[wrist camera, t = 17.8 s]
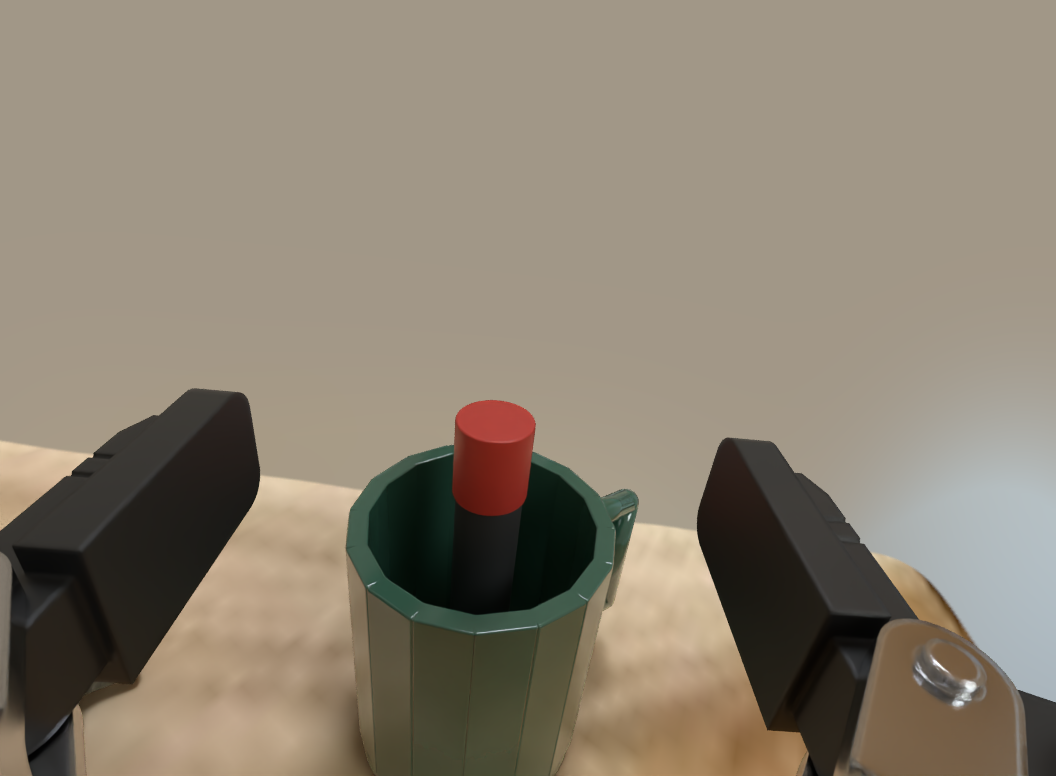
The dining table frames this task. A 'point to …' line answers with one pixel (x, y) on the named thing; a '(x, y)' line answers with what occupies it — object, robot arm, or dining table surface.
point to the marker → (488, 502)
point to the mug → (477, 622)
